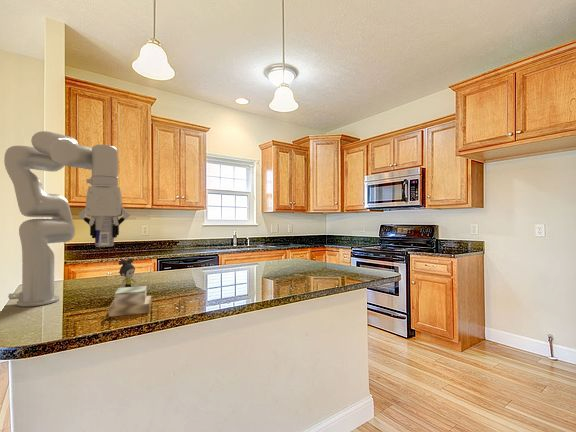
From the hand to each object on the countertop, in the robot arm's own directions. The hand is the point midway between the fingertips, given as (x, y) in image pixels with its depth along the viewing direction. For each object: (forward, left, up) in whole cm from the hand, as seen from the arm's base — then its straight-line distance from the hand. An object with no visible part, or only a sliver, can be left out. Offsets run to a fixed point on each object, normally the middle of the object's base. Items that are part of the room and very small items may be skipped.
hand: (104, 237), depth 103 cm
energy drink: (0, 0, -3) cm, 3 cm away
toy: (+4, +26, -26) cm, 37 cm away
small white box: (+8, +3, -26) cm, 27 cm away
